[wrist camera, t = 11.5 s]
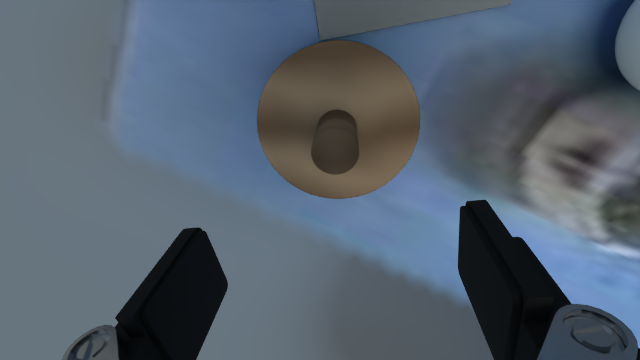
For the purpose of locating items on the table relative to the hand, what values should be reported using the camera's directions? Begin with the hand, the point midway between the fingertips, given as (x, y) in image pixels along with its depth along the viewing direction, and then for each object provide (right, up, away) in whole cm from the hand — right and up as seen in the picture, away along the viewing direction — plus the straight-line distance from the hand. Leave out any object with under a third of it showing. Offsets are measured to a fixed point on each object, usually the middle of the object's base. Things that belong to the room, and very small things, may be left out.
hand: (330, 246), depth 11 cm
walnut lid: (+1, +7, +14) cm, 16 cm away
